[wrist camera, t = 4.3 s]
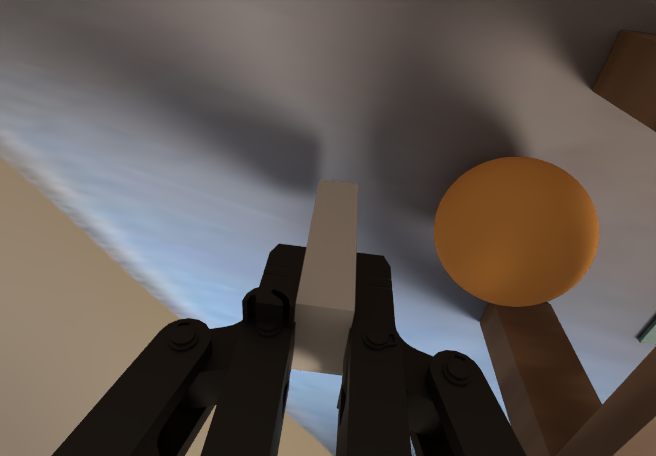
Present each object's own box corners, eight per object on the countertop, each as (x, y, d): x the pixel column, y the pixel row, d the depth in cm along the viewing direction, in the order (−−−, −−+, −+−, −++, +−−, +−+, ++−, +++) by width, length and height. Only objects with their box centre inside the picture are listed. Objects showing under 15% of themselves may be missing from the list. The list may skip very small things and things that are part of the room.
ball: (460, 350, 14) (405, 252, 18) (599, 327, 15) (515, 238, 19) (500, 218, 11) (422, 138, 15) (675, 198, 11) (553, 128, 16)
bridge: (711, 41, 13) (1164, 167, 6) (534, 329, 22) (624, 533, 14) (621, 29, 13) (955, 140, 6) (479, 322, 22) (540, 522, 14)
